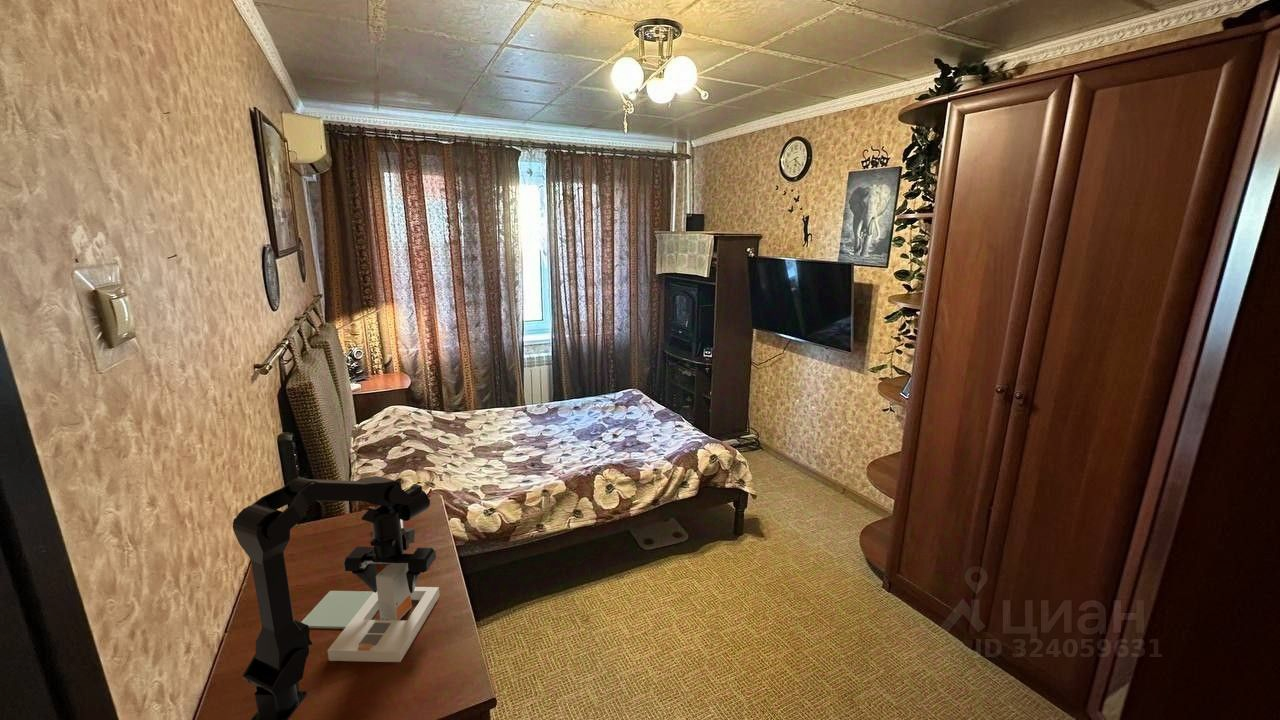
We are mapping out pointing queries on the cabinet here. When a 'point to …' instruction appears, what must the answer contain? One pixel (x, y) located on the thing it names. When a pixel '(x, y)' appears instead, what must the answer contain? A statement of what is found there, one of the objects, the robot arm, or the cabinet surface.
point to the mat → (336, 609)
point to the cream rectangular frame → (382, 631)
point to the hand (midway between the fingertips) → (394, 591)
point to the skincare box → (393, 591)
